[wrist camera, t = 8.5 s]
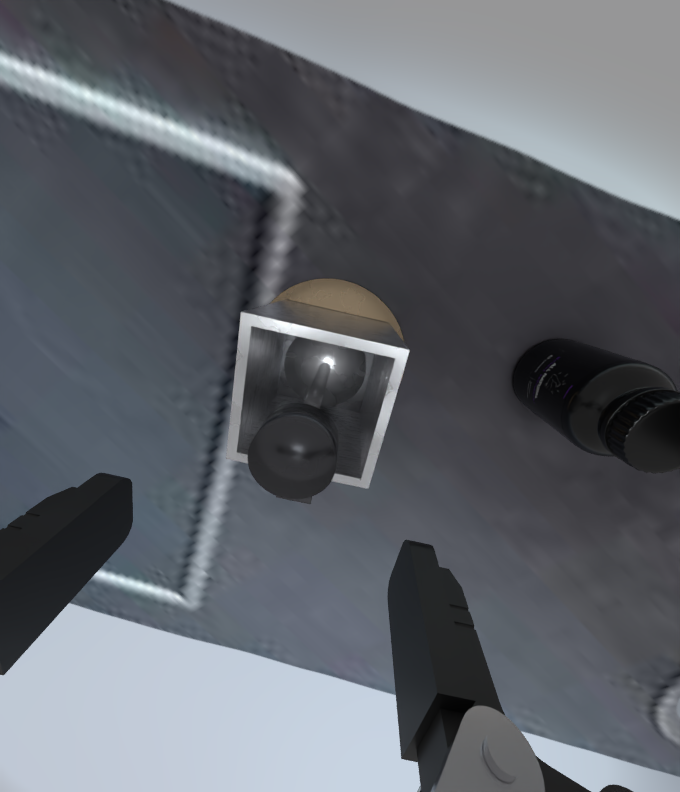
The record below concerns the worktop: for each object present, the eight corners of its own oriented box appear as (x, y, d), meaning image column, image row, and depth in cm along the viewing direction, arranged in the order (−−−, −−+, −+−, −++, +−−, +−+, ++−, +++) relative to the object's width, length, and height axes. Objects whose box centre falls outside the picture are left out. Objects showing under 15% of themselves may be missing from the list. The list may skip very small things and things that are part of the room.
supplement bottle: (504, 352, 28) (601, 400, 17) (585, 327, 27) (745, 360, 16) (516, 418, 30) (609, 500, 19) (592, 397, 29) (737, 471, 18)
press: (424, 298, 27) (472, 312, 16) (381, 443, 32) (394, 532, 21) (263, 261, 27) (195, 248, 15) (245, 414, 32) (184, 488, 20)
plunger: (374, 335, 26) (396, 404, 12) (355, 410, 28) (354, 542, 14) (293, 317, 26) (214, 364, 12) (280, 393, 28) (203, 511, 14)
